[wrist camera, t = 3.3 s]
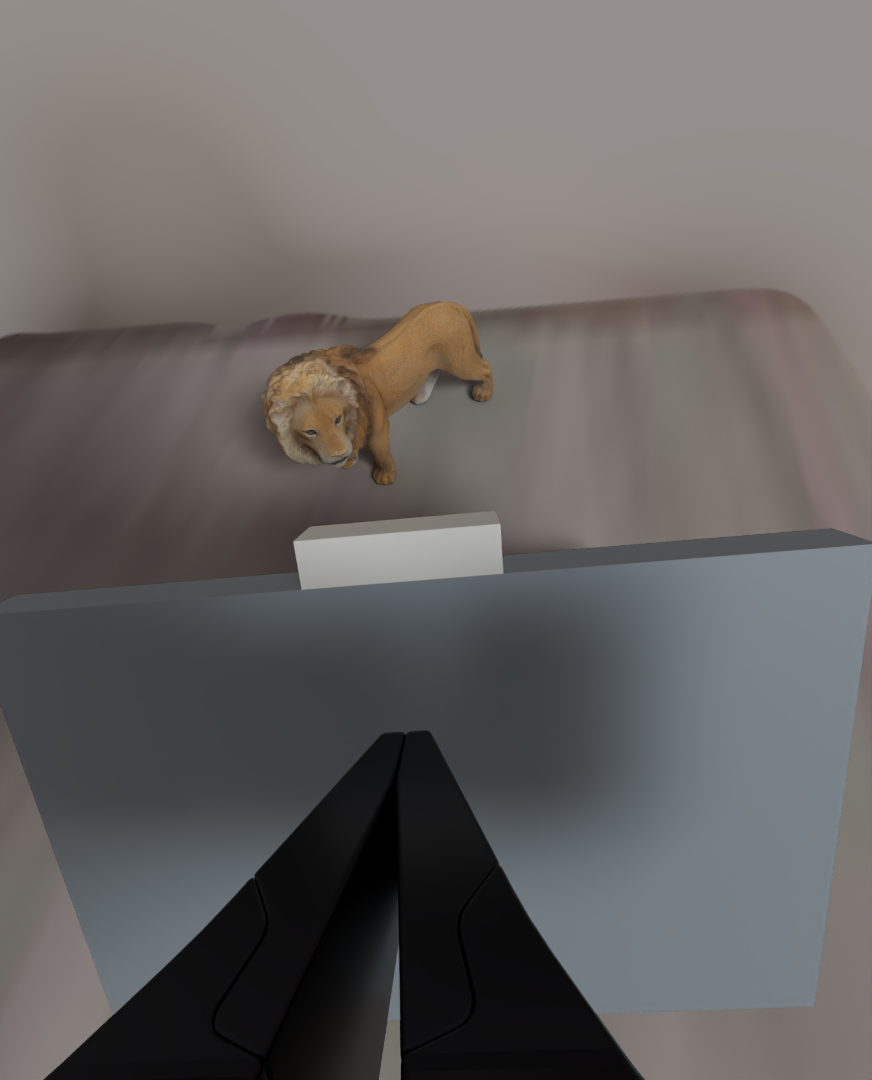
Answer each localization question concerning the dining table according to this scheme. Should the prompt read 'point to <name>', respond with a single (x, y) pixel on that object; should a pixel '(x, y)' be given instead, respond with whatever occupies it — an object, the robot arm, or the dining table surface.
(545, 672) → the lid
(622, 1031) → the dining table surface
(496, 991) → the robot arm
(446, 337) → the lion figurine
